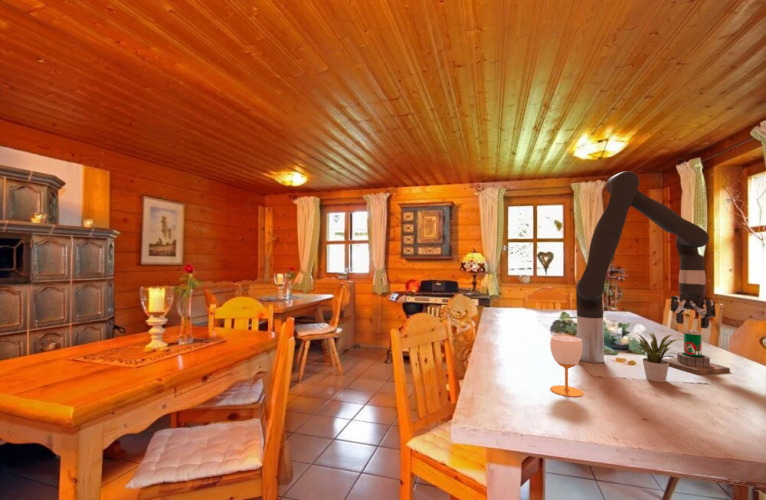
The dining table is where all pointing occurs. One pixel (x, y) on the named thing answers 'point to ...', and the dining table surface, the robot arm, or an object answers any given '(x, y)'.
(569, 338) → the cup
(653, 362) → the house plant
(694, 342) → the soda can
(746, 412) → the dining table surface
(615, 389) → the dining table surface
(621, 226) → the robot arm
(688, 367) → the can holder
